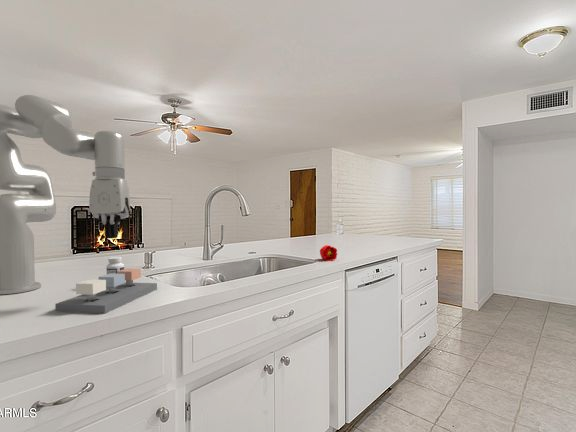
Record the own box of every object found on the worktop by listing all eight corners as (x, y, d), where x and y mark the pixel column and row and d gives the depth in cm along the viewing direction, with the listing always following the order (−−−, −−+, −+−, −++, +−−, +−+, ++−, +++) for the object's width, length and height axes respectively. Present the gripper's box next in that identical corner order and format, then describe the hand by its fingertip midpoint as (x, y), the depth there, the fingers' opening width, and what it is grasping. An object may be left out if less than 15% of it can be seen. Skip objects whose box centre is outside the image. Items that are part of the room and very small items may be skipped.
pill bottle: (120, 283, 111) (120, 256, 111) (127, 285, 108) (126, 257, 108) (104, 286, 107) (103, 257, 107) (110, 288, 104) (110, 259, 104)
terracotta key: (117, 286, 97) (117, 271, 97) (127, 283, 102) (127, 268, 102) (131, 287, 97) (131, 271, 97) (141, 283, 101) (140, 268, 101)
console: (55, 311, 81) (55, 303, 80) (117, 288, 104) (117, 282, 104) (105, 313, 79) (104, 305, 79) (157, 289, 102) (156, 283, 102)
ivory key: (76, 301, 81) (76, 283, 81) (90, 296, 86) (90, 279, 86) (93, 302, 81) (92, 283, 81) (106, 297, 86) (105, 279, 85)
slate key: (98, 293, 89) (98, 276, 89) (110, 289, 94) (110, 273, 94) (114, 294, 89) (113, 277, 89) (125, 289, 94) (124, 273, 93)
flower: (333, 248, 165) (340, 249, 158) (328, 262, 164) (334, 264, 157) (321, 242, 163) (326, 243, 156) (315, 256, 163) (321, 258, 155)
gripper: (76, 174, 88) (78, 239, 88) (125, 173, 86) (126, 239, 86) (96, 177, 95) (97, 236, 96) (141, 176, 93) (142, 237, 94)
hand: (111, 237), depth 91 cm, fingers closed
